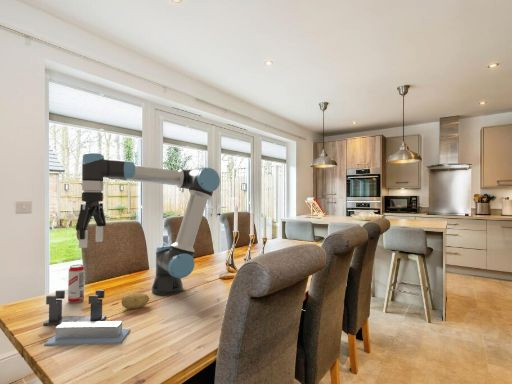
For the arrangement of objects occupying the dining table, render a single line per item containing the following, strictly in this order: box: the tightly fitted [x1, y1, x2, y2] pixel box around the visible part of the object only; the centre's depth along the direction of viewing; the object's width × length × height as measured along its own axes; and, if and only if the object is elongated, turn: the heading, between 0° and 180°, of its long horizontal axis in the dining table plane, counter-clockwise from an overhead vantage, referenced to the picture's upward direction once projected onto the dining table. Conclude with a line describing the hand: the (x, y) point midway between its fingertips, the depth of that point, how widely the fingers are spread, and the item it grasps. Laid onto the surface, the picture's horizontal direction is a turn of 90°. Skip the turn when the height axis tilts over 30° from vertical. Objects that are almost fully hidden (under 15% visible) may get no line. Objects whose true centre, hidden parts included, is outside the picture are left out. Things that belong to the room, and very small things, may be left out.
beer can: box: [67, 264, 86, 304], centre depth 133 cm, size 6×6×16 cm
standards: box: [42, 289, 107, 327], centre depth 112 cm, size 20×7×11 cm, turn 95°
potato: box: [120, 292, 150, 310], centre depth 127 cm, size 7×11×6 cm, turn 107°
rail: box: [54, 320, 123, 340], centre depth 100 cm, size 20×4×4 cm, turn 95°
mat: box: [43, 328, 131, 346], centre depth 100 cm, size 24×9×1 cm, turn 95°
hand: (91, 244), depth 118 cm, fingers open, 13 cm apart
